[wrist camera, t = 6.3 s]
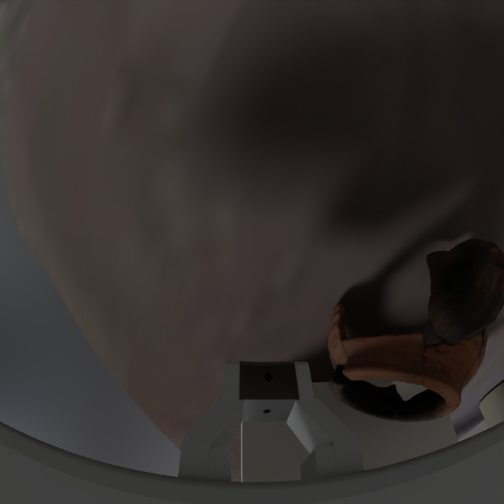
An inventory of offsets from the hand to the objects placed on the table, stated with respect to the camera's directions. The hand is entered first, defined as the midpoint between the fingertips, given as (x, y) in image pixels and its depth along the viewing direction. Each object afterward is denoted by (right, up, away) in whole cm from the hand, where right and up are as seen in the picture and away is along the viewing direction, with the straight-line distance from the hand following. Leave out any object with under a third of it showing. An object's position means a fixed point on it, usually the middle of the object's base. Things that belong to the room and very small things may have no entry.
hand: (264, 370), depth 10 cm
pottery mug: (+9, +2, +5) cm, 10 cm away
